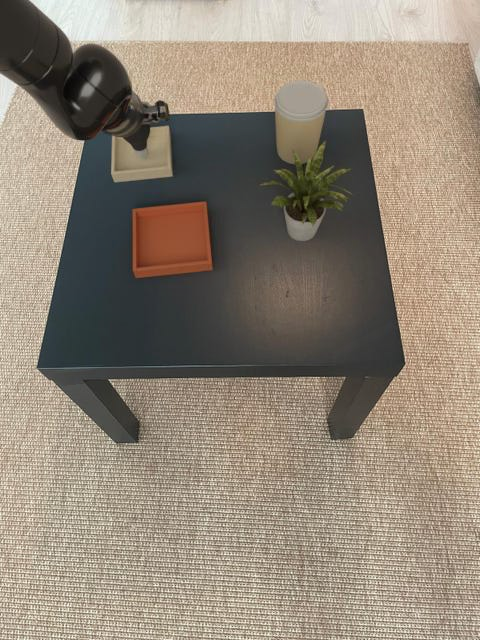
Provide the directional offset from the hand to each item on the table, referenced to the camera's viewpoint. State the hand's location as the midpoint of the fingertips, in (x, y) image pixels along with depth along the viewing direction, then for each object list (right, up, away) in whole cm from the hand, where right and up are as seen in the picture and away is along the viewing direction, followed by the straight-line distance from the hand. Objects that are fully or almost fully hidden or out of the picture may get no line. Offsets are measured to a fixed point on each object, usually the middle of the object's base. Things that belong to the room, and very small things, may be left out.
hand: (132, 118), depth 87 cm
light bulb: (+1, -5, +7) cm, 8 cm away
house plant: (+30, -21, -2) cm, 37 cm away
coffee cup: (+31, -3, +7) cm, 32 cm away
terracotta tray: (+8, -23, -2) cm, 24 cm away
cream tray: (+1, -5, +7) cm, 9 cm away
